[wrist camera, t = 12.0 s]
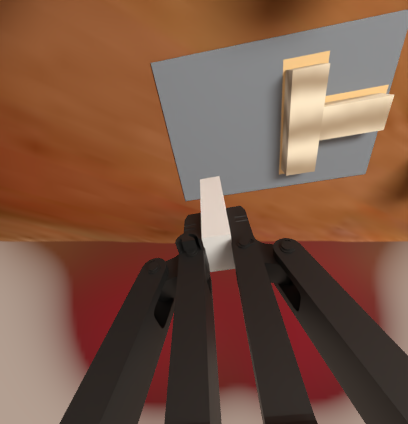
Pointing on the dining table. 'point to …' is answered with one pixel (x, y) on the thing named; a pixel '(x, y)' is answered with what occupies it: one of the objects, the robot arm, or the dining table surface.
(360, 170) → the push mat
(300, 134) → the t block
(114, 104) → the dining table surface
